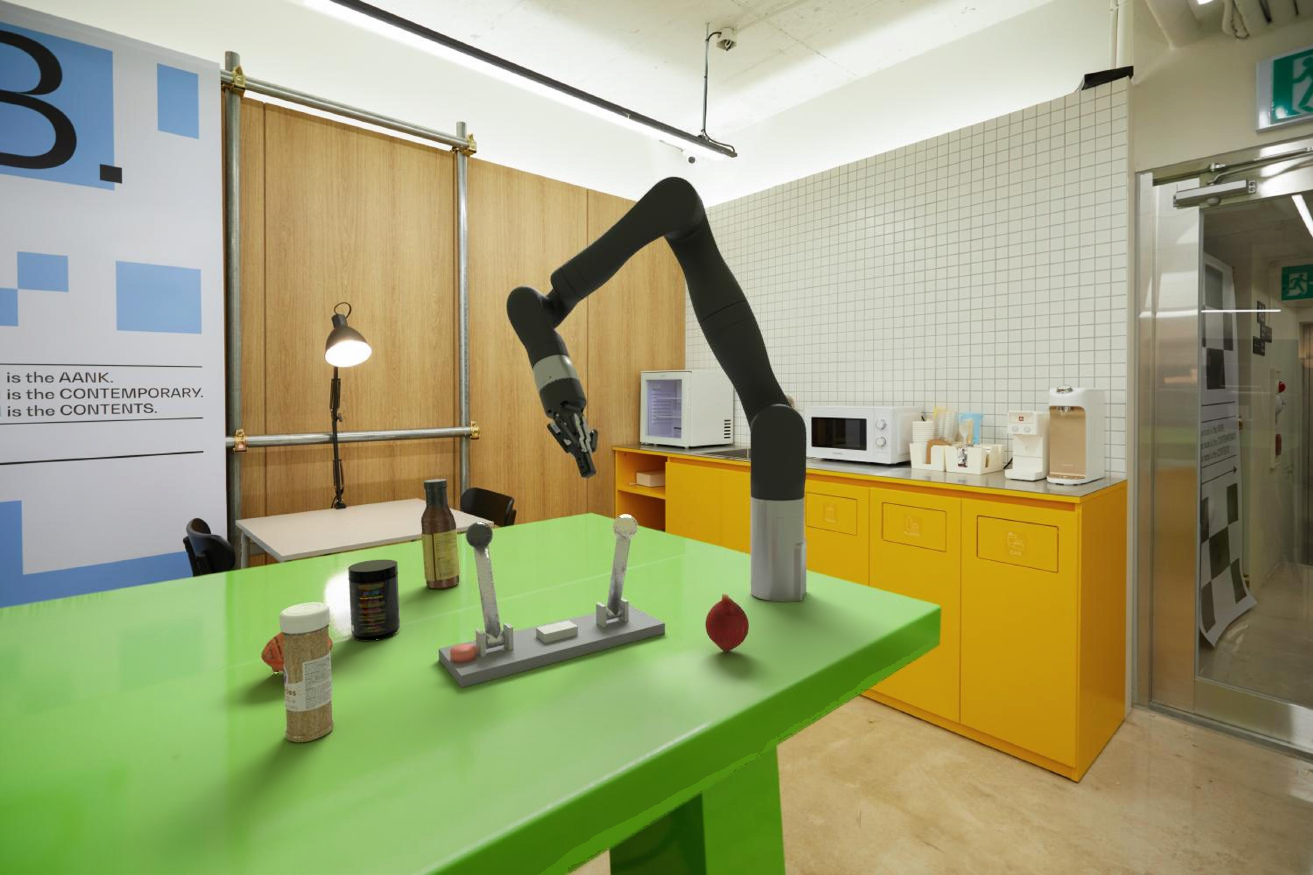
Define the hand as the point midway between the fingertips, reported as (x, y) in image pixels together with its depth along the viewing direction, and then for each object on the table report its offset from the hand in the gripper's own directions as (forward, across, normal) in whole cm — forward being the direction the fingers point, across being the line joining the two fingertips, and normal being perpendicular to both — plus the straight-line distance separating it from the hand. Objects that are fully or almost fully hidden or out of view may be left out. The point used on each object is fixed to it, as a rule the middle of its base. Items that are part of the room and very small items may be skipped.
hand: (589, 475), depth 106 cm
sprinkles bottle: (+26, -42, +19) cm, 53 cm away
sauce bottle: (+5, +2, +38) cm, 38 cm away
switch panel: (+25, -12, +7) cm, 28 cm away
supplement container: (+14, -20, +32) cm, 40 cm away
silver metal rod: (+22, -21, +10) cm, 32 cm away
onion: (+34, -4, -14) cm, 37 cm away
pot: (+17, -34, +31) cm, 49 cm away
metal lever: (+23, -6, +1) cm, 23 cm away
